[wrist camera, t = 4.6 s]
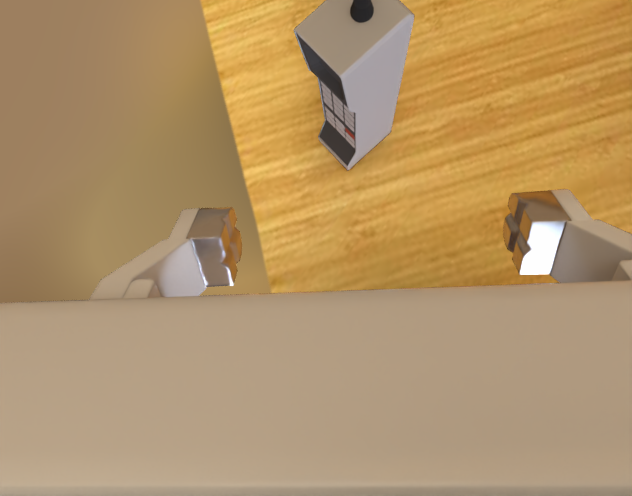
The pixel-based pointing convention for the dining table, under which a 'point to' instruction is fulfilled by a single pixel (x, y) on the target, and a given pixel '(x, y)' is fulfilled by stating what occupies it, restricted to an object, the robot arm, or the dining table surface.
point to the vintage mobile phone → (356, 70)
